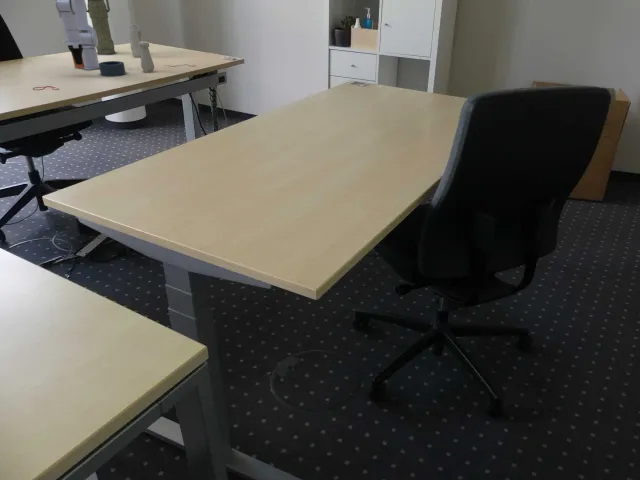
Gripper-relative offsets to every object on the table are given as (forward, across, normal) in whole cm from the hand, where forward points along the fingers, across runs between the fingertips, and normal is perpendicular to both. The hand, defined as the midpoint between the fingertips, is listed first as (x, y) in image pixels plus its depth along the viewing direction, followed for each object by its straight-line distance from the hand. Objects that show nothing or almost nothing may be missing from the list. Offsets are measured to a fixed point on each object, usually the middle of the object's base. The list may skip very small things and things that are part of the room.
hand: (79, 63), depth 234 cm
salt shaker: (+5, 0, +28) cm, 29 cm away
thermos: (+6, -56, +16) cm, 59 cm away
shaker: (+2, 0, 0) cm, 2 cm away
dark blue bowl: (+5, 0, +13) cm, 14 cm away
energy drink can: (+6, -42, +30) cm, 52 cm away
